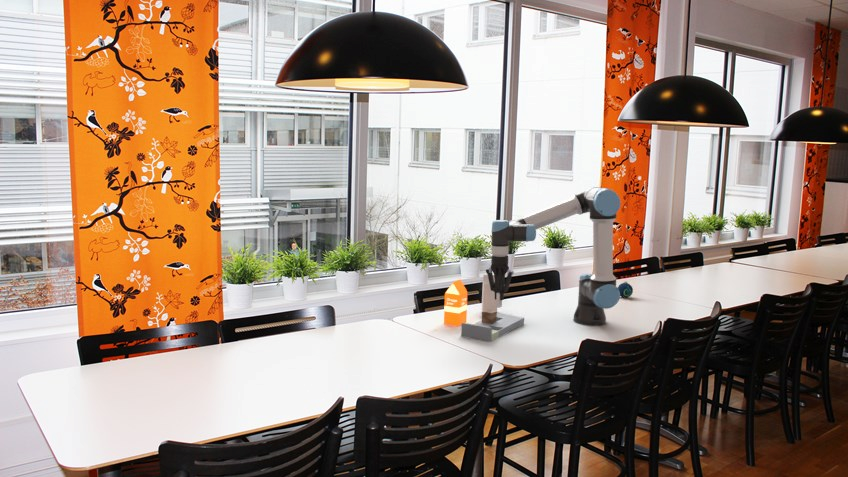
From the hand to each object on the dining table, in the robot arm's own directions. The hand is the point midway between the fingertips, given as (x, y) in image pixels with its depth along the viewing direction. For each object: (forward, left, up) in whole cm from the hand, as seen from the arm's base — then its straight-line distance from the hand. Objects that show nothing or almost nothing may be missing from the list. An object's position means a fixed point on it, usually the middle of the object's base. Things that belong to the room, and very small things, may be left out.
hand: (499, 306), depth 297 cm
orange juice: (+22, 0, -11) cm, 24 cm away
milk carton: (+18, -28, -11) cm, 35 cm away
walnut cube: (+5, 0, -8) cm, 9 cm away
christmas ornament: (-29, -105, -11) cm, 109 cm away
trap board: (+2, 0, -11) cm, 11 cm away
